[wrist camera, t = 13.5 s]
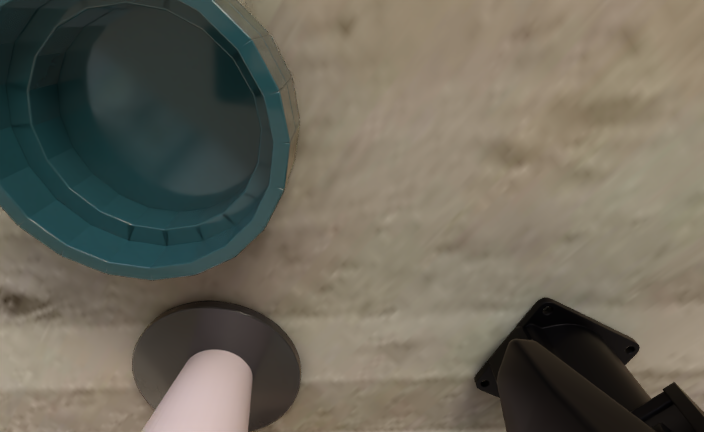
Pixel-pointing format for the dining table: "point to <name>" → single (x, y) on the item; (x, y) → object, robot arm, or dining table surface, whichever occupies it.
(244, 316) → the coaster
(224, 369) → the smoothie
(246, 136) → the teal faceted dish
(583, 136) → the dining table surface
